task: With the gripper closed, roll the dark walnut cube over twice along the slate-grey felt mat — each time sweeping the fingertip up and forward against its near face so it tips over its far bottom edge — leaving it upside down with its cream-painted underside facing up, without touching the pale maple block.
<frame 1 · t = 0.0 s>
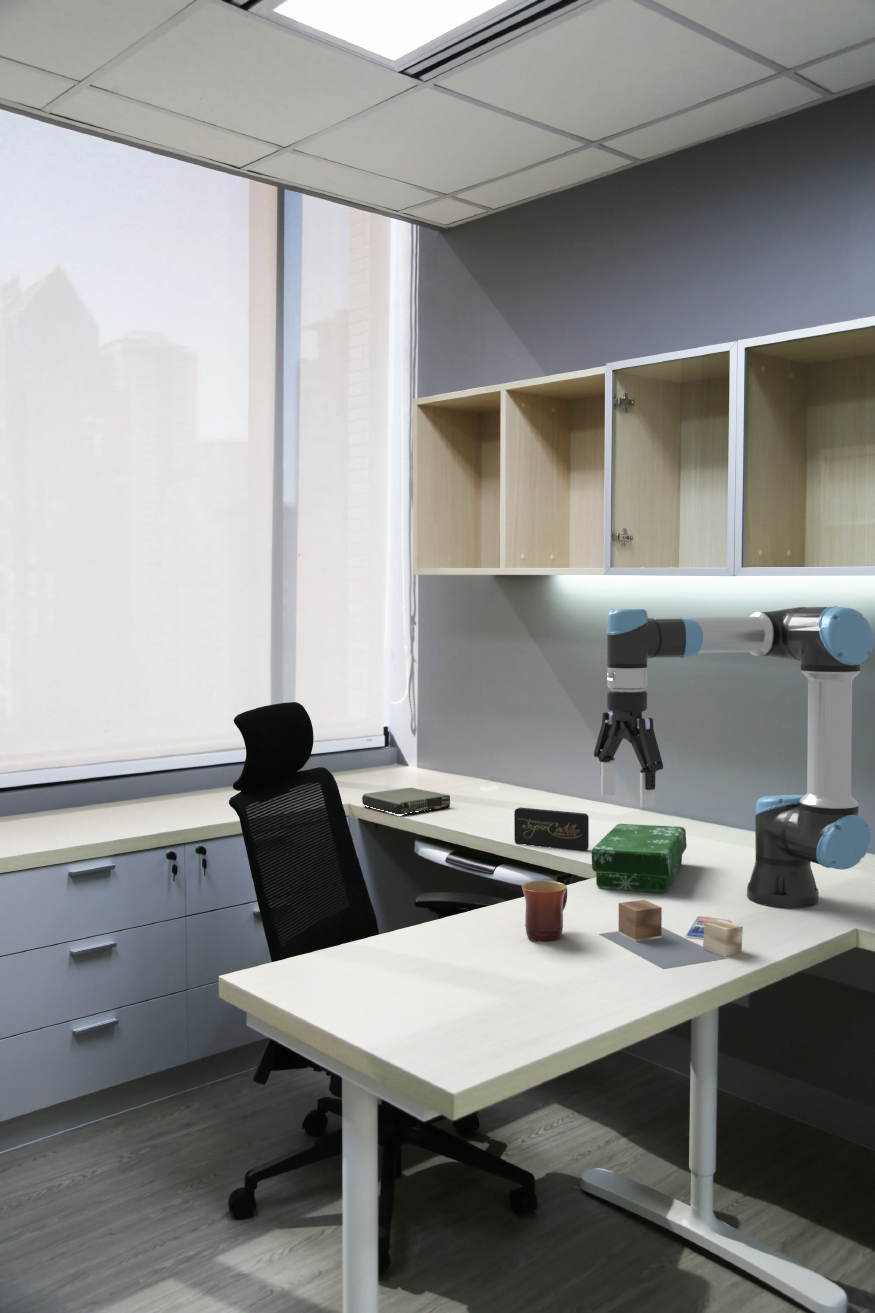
hand: (626, 801, 201), 28 cm above the table, fingers open, 13 cm apart
walnut cube: (639, 935, 207), resting on felt mat
network switch: (405, 809, 343), on the table
nameplate: (551, 848, 285), on the table
box: (641, 877, 254), on the table
maple block: (722, 951, 197), on the table, touching felt mat
smartphone: (708, 933, 211), on the table
mug: (548, 936, 208), on the table
felt mat: (660, 947, 200), on the table
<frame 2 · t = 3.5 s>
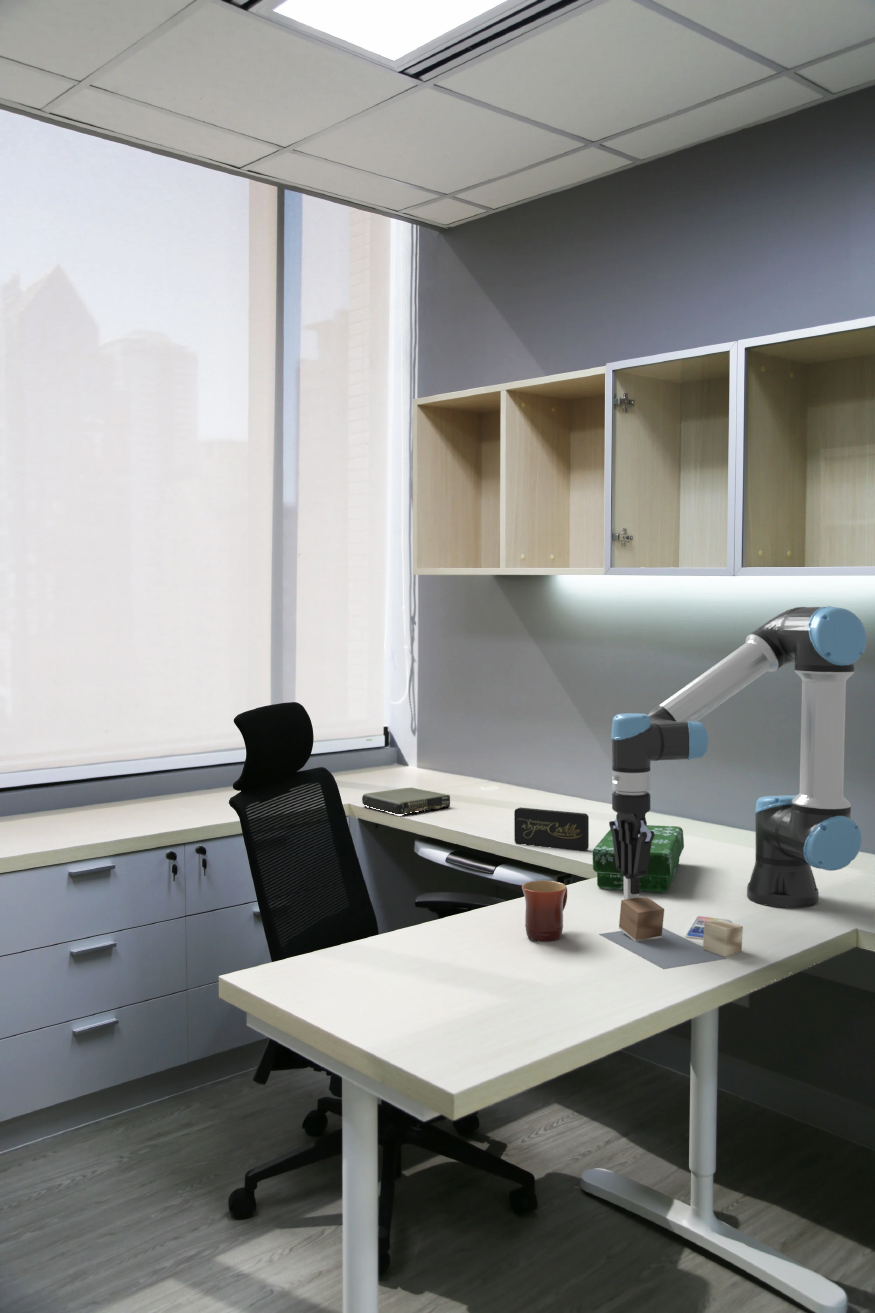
hand: (631, 908, 210), 5 cm above the table, fingers closed
walnut cube: (640, 933, 207), point 1 cm above the table, tilted 9°, touching felt mat
everything else where it was.
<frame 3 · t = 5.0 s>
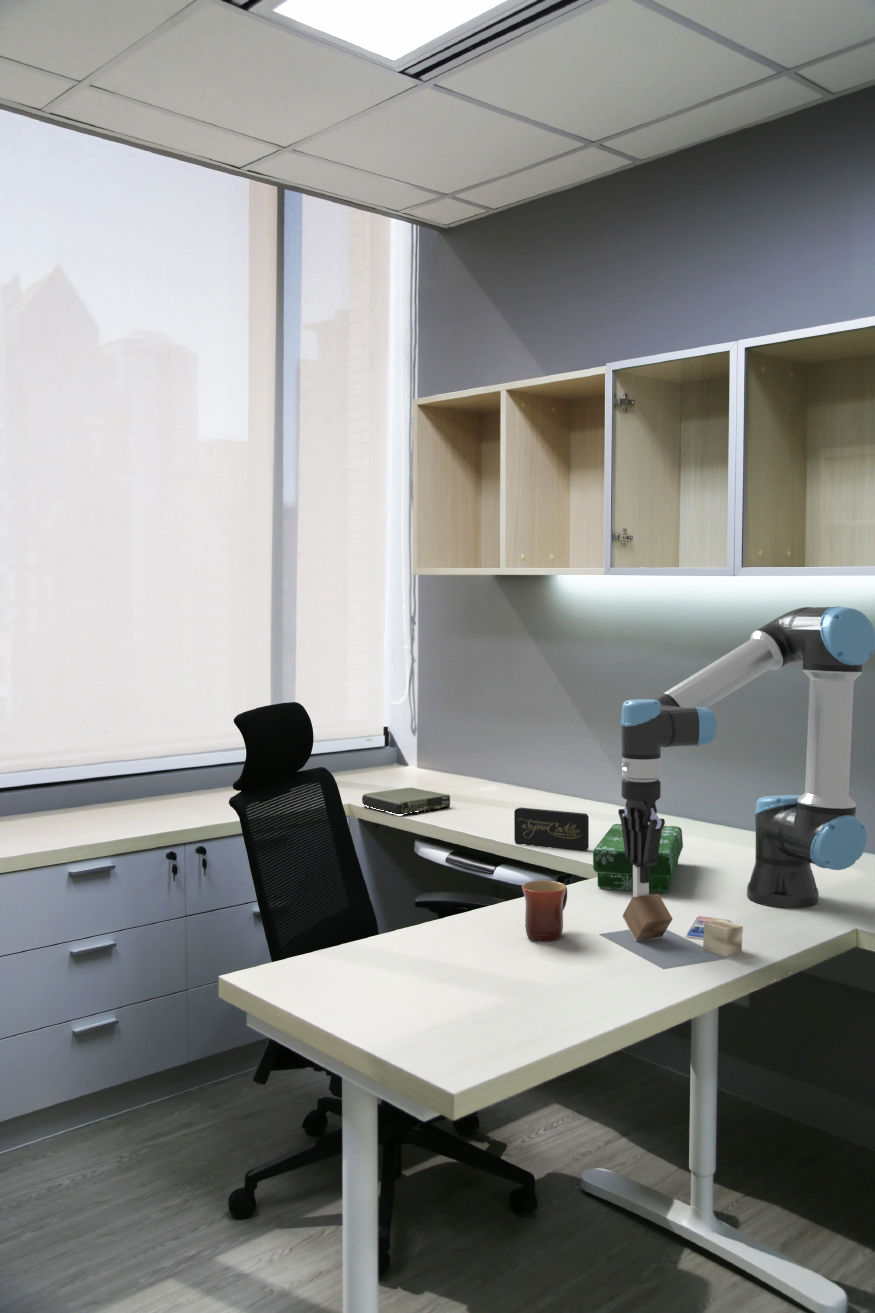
hand: (640, 897, 206), 8 cm above the table, fingers closed
walnut cube: (641, 927, 206), point 2 cm above the table, tilted 38°, touching felt mat, gripper
everything else where it was.
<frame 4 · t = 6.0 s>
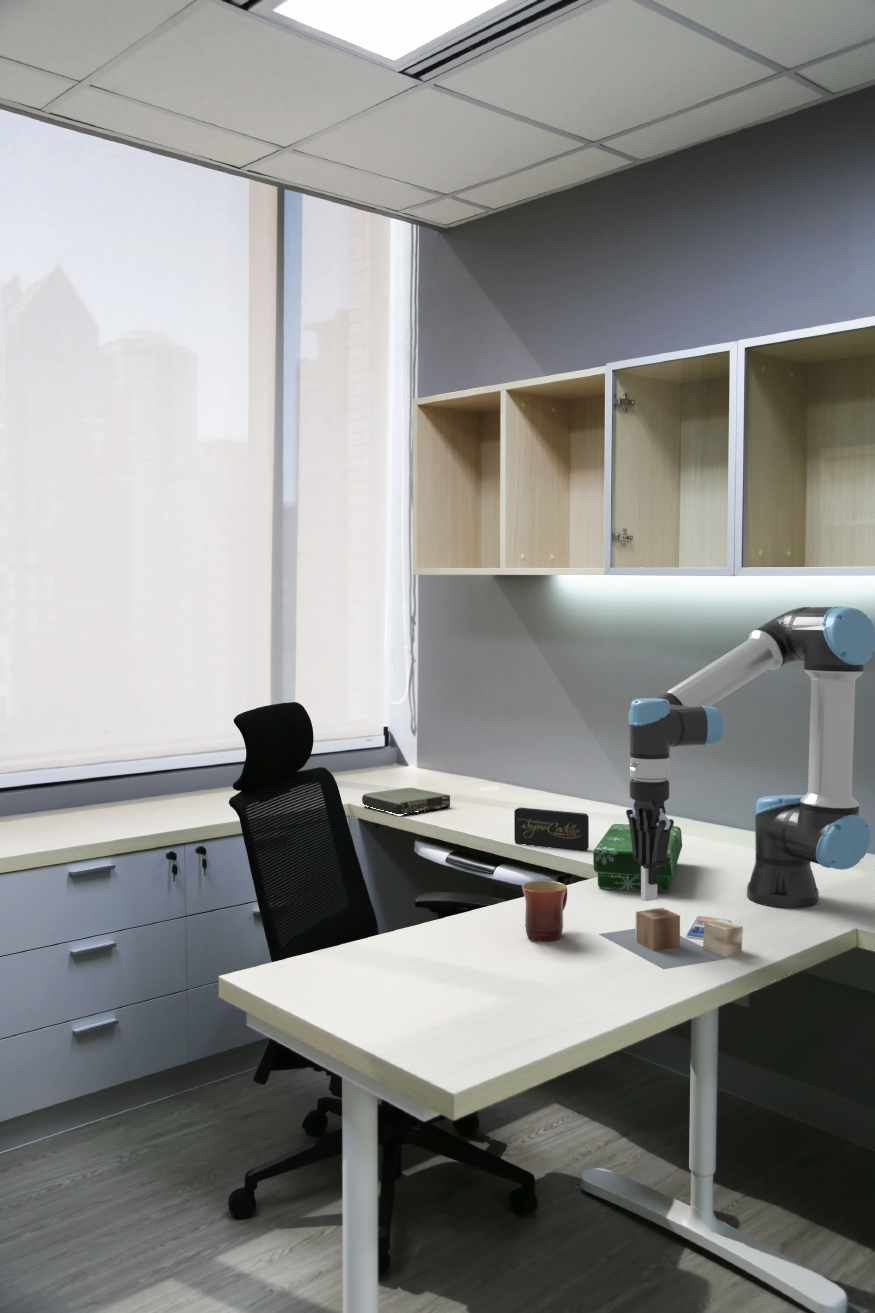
hand: (649, 899, 204), 8 cm above the table, fingers closed
walnut cube: (648, 924, 204), point 3 cm above the table, tilted 90°, touching felt mat
everything else where it was.
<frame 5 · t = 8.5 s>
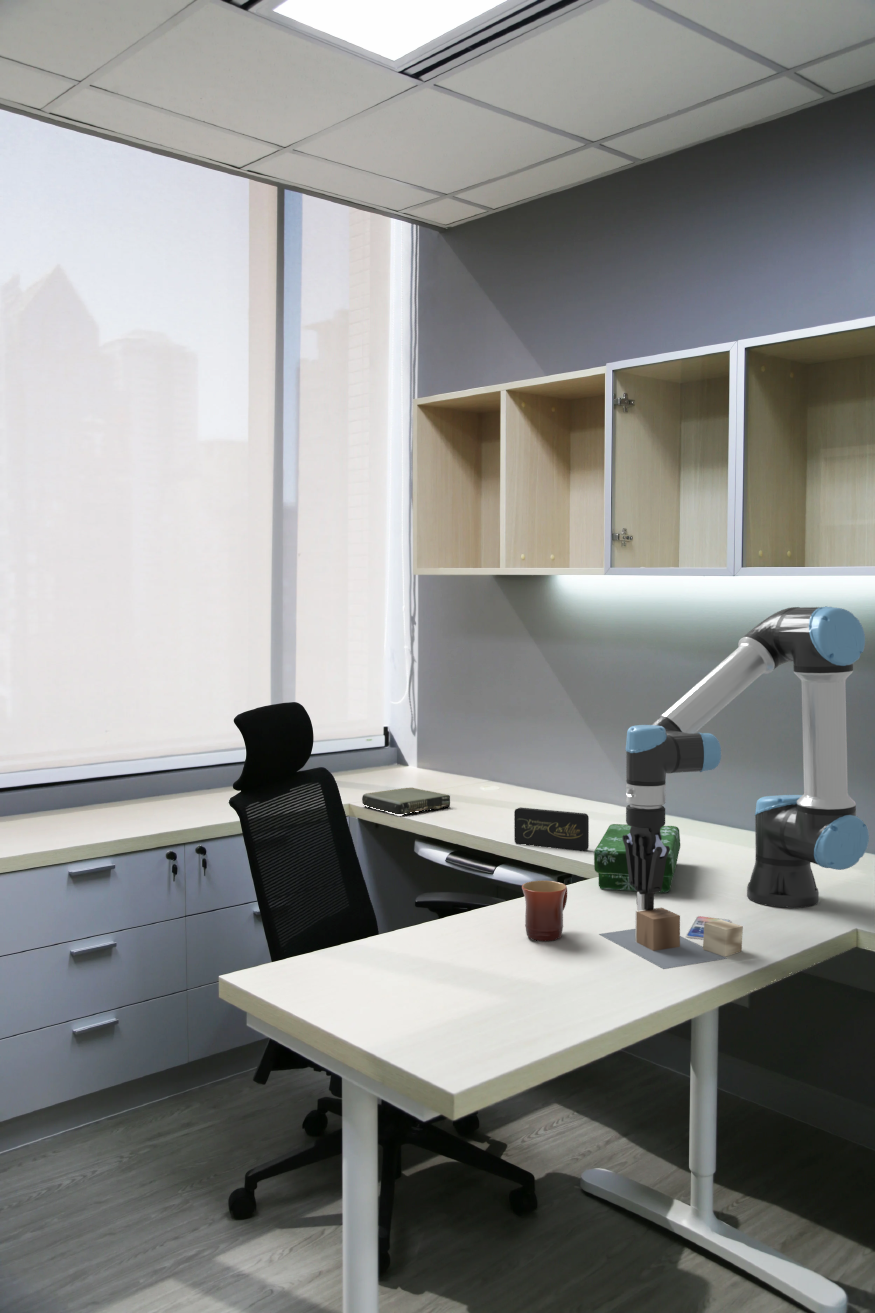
hand: (645, 925, 205), 3 cm above the table, fingers closed
walnut cube: (648, 924, 204), point 3 cm above the table, tilted 90°, touching felt mat, gripper
everything else where it was.
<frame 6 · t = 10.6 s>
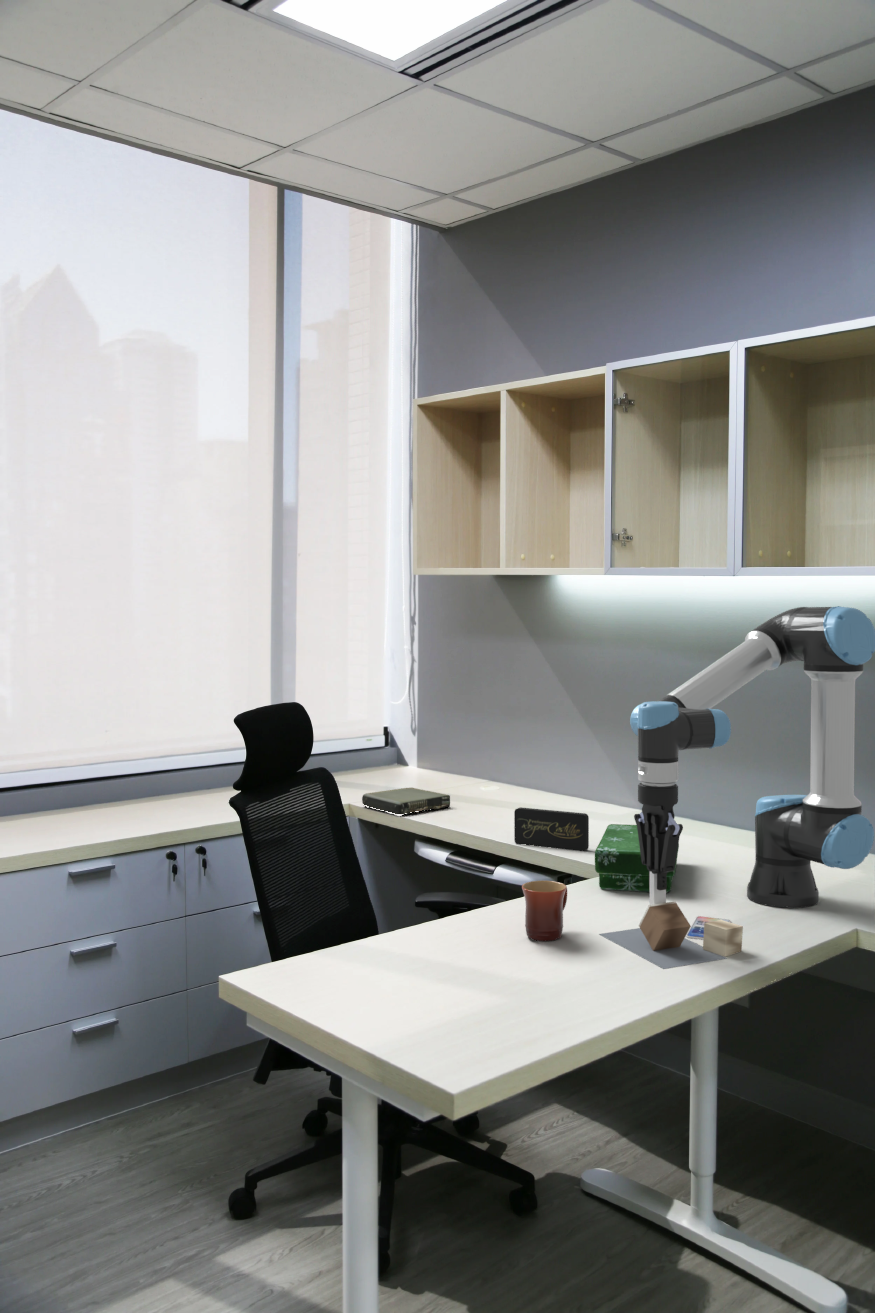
hand: (657, 905, 201), 8 cm above the table, fingers closed
walnut cube: (656, 913, 201), point 6 cm above the table, tilted 125°, touching felt mat
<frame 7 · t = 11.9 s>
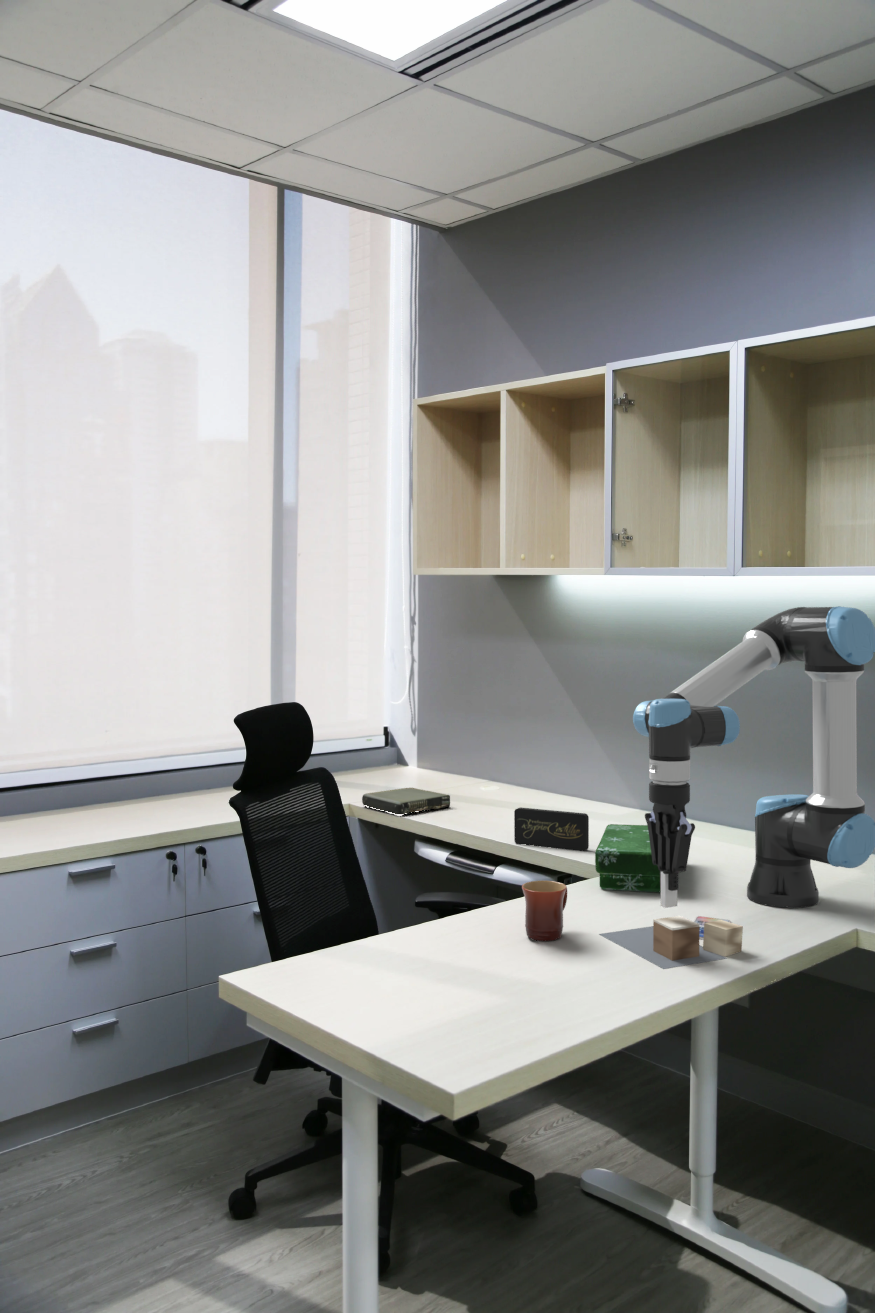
hand: (668, 906, 198), 9 cm above the table, fingers closed
walnut cube: (676, 922, 196), point 6 cm above the table, tilted 180°, touching felt mat
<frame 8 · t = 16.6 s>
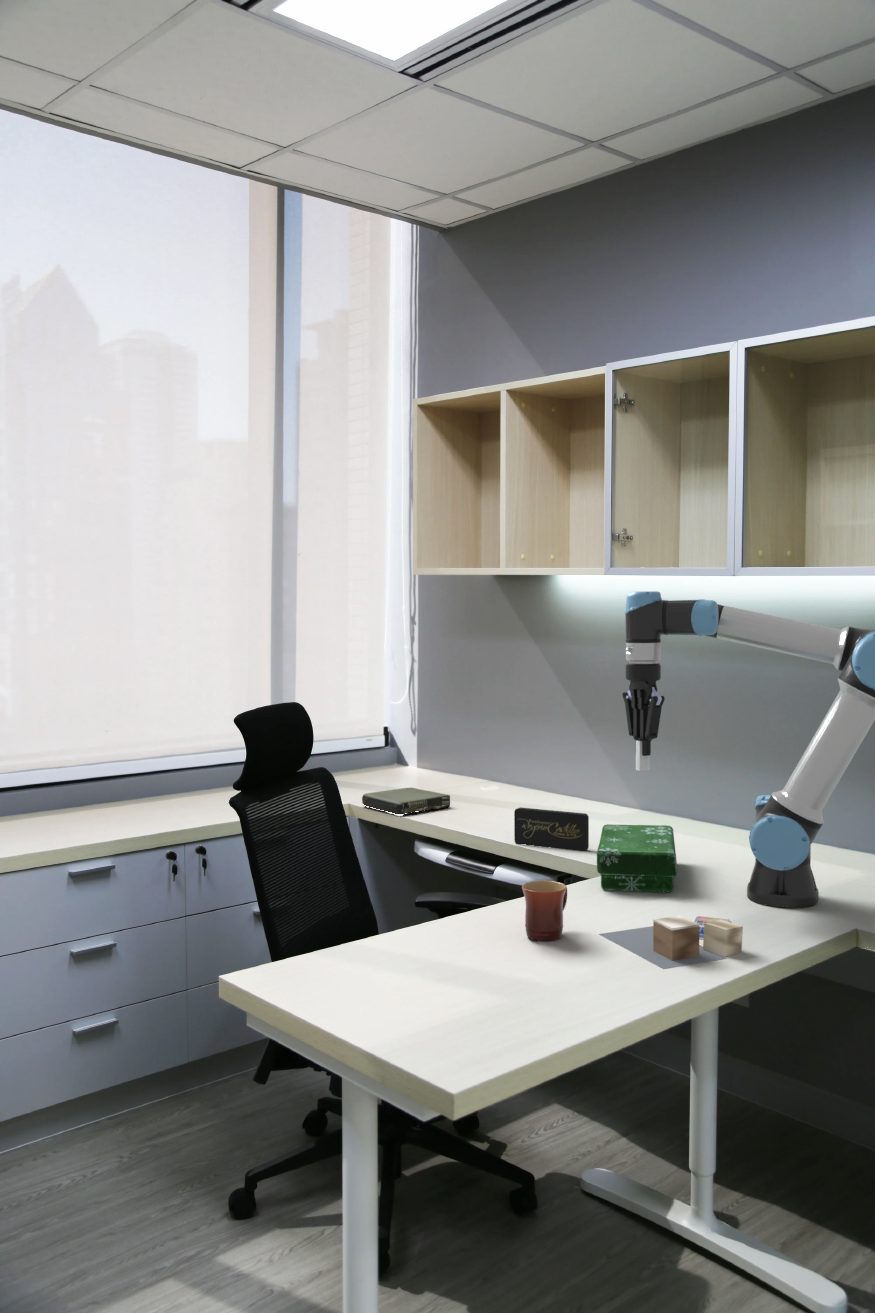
hand: (642, 769, 229), 29 cm above the table, fingers closed
at the end: walnut cube tilted 180°; walnut cube inside the target area (1.5 cm from its centre), point 6.3 cm above the table; maple block moved 0.2 cm from its start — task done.
